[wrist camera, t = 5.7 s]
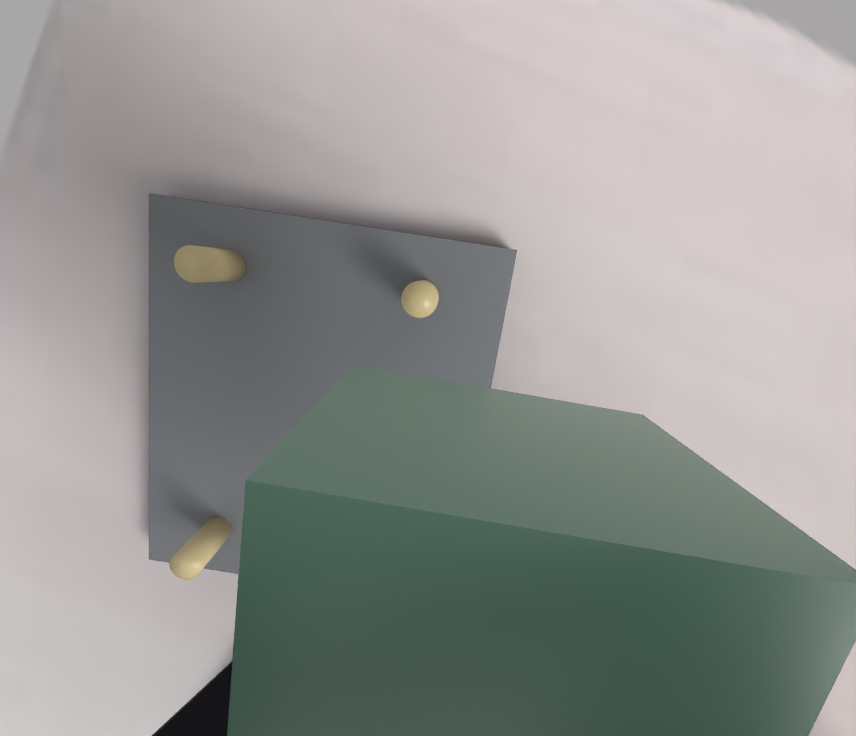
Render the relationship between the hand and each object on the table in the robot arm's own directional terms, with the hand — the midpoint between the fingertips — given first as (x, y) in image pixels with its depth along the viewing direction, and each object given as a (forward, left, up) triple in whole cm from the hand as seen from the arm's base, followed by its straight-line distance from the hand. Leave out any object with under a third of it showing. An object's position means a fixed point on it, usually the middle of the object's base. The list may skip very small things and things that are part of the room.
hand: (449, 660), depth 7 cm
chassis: (+6, 0, -11) cm, 13 cm away
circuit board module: (0, 0, -1) cm, 1 cm away
